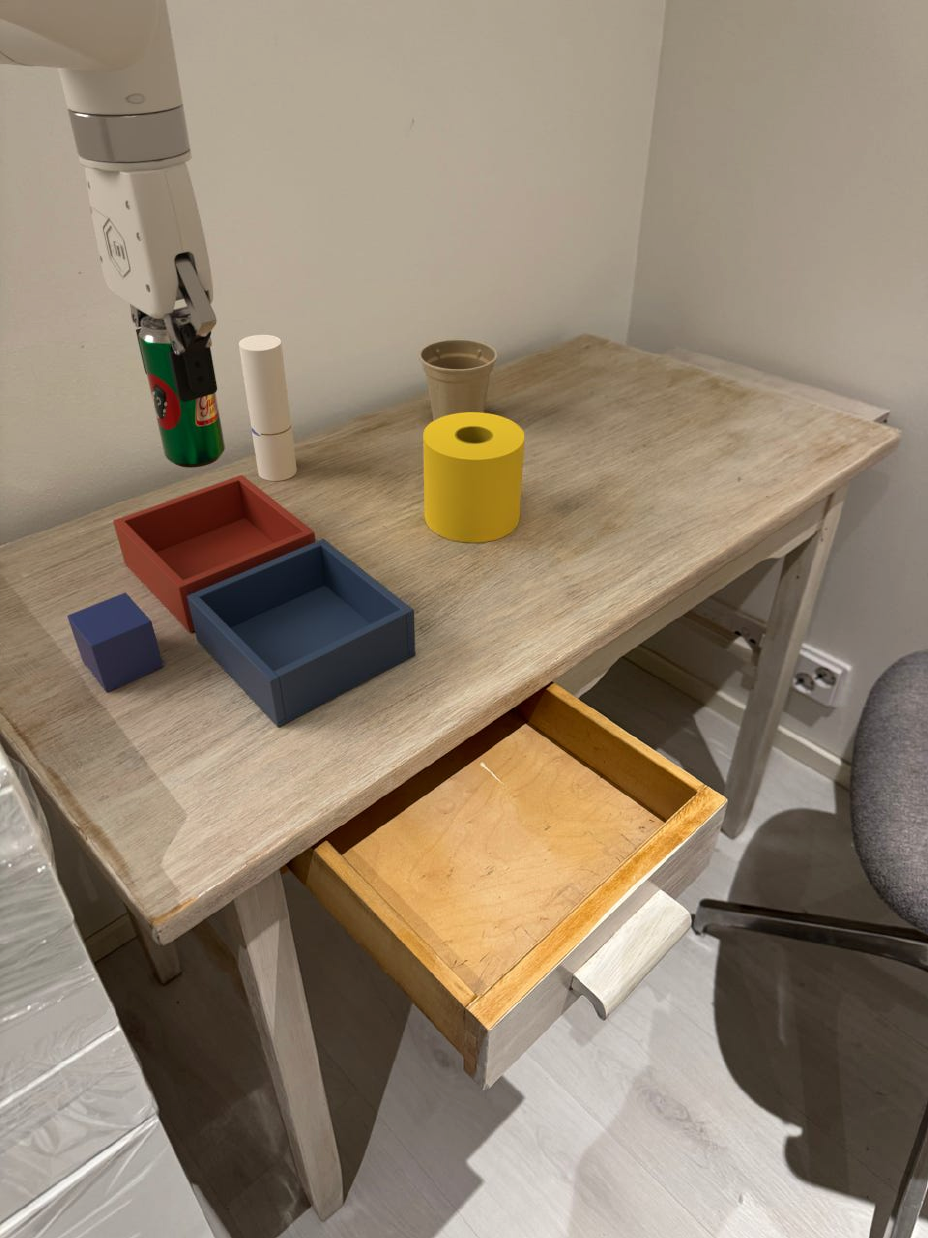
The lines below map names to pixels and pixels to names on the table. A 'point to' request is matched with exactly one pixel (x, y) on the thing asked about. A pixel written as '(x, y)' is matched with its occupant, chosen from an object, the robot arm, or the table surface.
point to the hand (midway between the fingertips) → (181, 382)
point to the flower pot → (457, 375)
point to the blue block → (116, 641)
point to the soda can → (179, 403)
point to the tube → (268, 406)
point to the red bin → (206, 540)
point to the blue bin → (302, 629)
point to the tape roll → (472, 476)
